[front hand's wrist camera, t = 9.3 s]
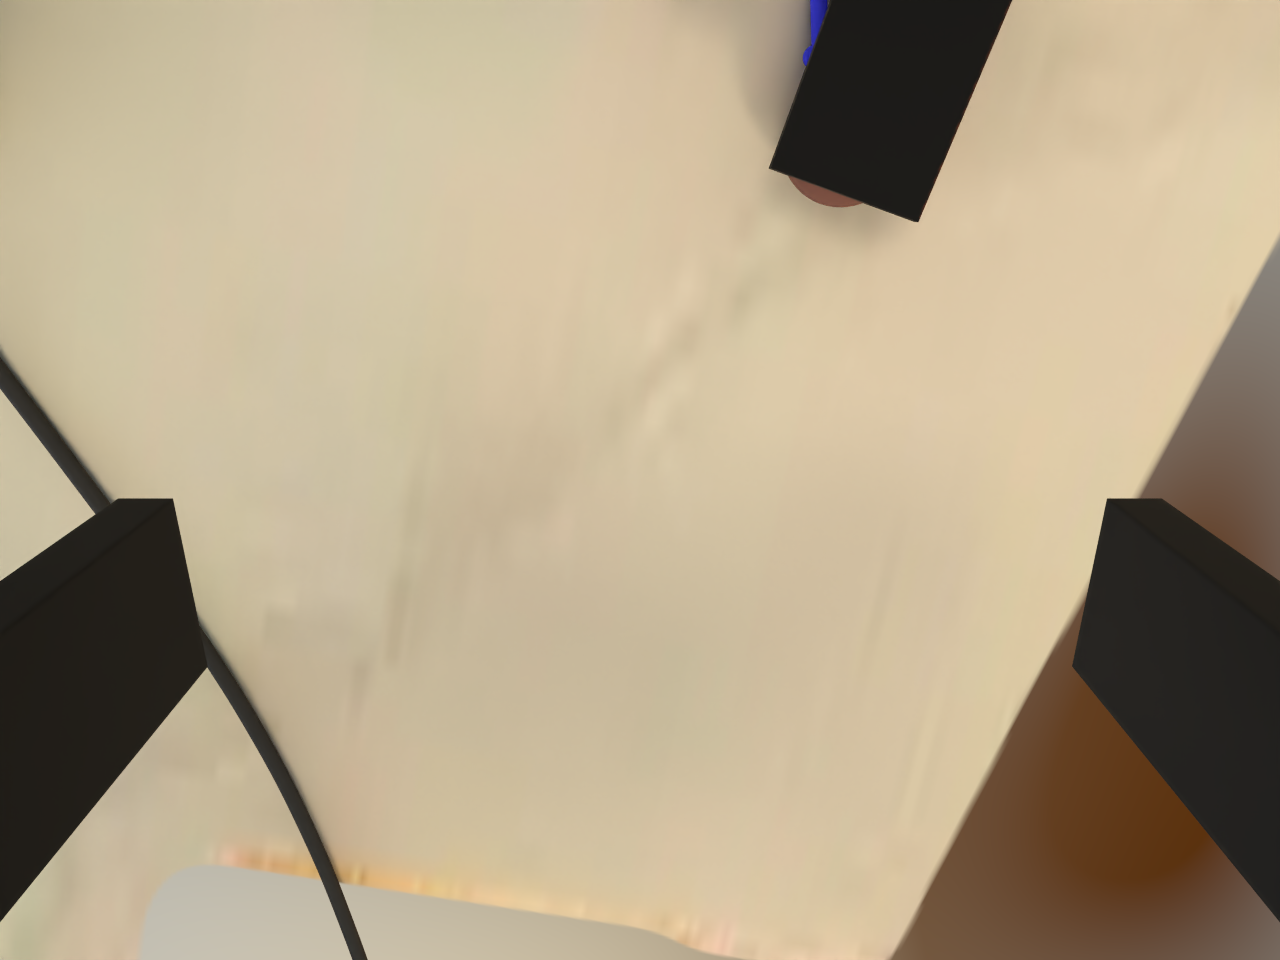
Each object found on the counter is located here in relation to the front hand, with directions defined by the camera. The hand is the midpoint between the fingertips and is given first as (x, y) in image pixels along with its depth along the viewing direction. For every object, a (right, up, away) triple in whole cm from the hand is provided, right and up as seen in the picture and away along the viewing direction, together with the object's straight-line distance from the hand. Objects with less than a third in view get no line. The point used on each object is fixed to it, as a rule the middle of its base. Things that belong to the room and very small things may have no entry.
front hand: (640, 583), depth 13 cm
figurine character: (+10, +21, +24) cm, 34 cm away
